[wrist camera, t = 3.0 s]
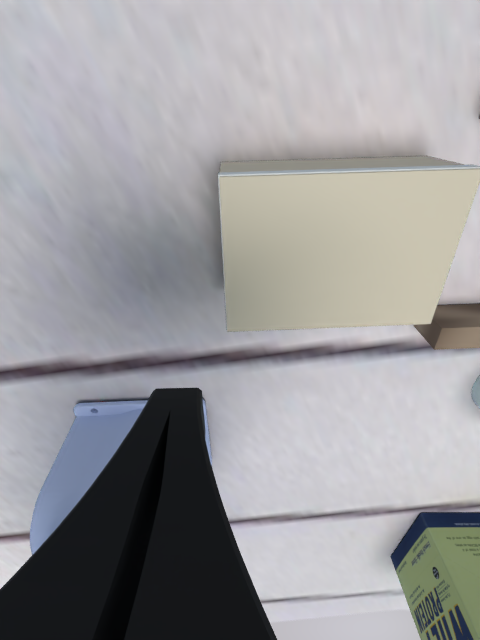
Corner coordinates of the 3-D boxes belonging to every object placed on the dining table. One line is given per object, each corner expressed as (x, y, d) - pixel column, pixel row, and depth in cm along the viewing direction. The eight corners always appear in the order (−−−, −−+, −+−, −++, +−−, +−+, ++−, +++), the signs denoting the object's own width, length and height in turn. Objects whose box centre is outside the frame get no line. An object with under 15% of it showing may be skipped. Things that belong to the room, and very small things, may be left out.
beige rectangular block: (226, 290, 20) (226, 332, 16) (219, 160, 16) (217, 176, 12) (392, 284, 20) (431, 324, 16) (425, 153, 16) (485, 167, 12)
